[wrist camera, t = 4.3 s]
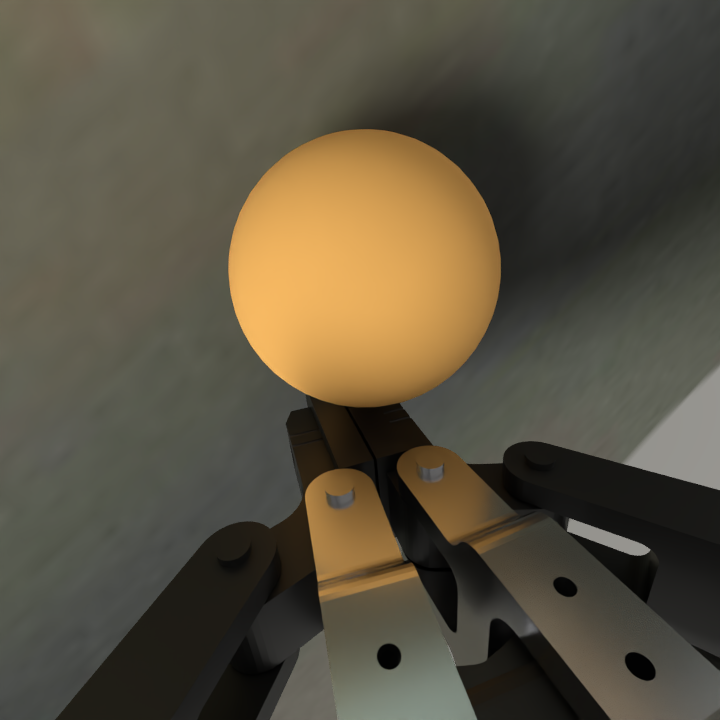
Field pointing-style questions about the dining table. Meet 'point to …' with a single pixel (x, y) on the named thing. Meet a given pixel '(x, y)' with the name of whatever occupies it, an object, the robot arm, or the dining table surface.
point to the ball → (364, 268)
